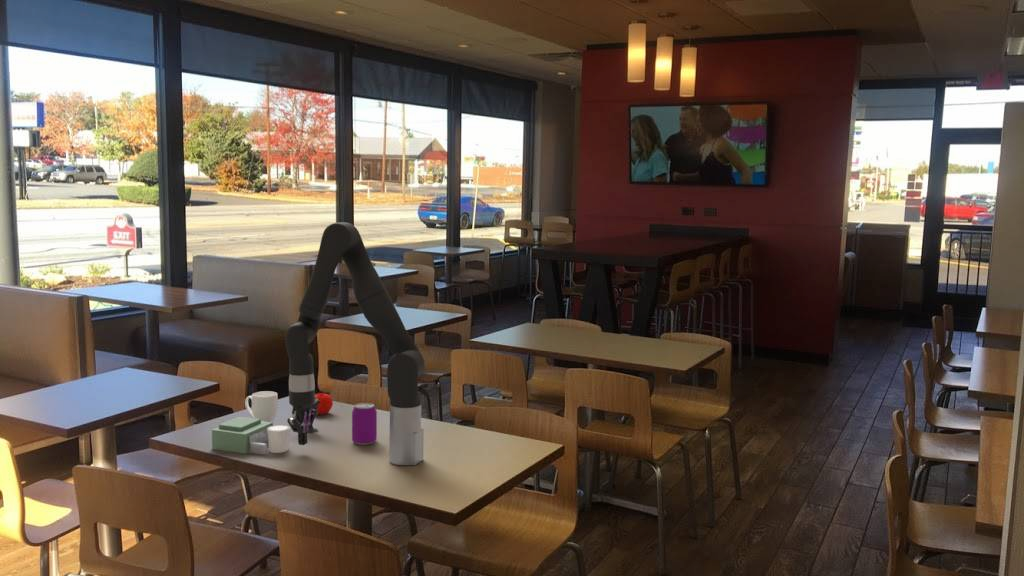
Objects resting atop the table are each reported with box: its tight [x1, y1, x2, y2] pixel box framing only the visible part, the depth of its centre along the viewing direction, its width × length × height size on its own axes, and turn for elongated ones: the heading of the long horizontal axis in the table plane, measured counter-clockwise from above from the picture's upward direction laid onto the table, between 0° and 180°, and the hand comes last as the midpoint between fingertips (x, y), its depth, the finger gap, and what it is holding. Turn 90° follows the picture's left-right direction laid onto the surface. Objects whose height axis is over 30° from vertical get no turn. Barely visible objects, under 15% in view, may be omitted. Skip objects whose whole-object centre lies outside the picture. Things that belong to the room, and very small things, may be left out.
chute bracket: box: [248, 428, 269, 456], centre depth 255 cm, size 6×11×5 cm, turn 162°
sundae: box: [307, 394, 320, 434], centre depth 274 cm, size 7×7×15 cm
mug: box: [244, 390, 279, 423], centre depth 278 cm, size 12×8×11 cm
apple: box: [315, 393, 334, 415], centre depth 296 cm, size 8×8×7 cm
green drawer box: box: [211, 416, 274, 454], centre depth 258 cm, size 12×14×7 cm
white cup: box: [267, 424, 291, 454], centre depth 254 cm, size 7×7×7 cm
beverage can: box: [351, 402, 378, 446], centre depth 264 cm, size 8×8×12 cm
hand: (302, 444), depth 252 cm, fingers closed
